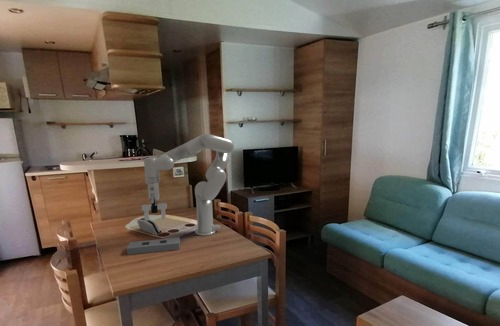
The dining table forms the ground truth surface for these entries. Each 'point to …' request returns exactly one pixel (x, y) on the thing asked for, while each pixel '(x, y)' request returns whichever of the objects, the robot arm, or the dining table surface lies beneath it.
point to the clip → (159, 206)
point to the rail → (153, 246)
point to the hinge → (148, 225)
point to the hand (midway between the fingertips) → (154, 211)
